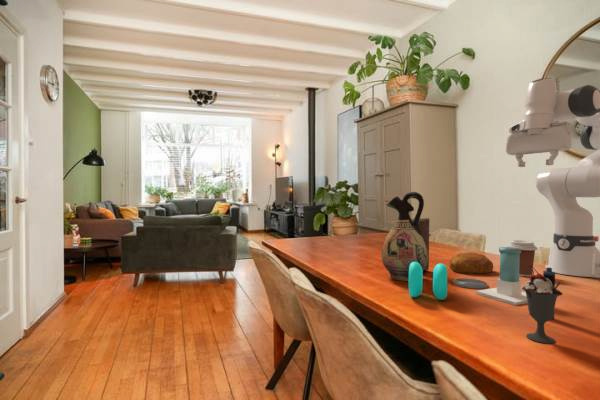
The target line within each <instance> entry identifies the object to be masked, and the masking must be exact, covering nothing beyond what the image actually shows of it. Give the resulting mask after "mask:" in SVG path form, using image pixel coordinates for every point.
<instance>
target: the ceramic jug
mask: <svg viewBox="0 0 600 400" xmlns="http://www.w3.org/2000/svg"><path fill="white" fill-rule="evenodd" d="M409 199H415V200H417V201H418V207H417V210H416V214H415V216H414V218H413V219H414V221H412V220H411V219H412V217H411V216H410V213H411V212H414V210H415V208H414V206H413V205H412V203H410V202H409ZM424 206H425V200H424V198H423V196H422V194H420V193H419V192H416V191H411V192H408V193H406V194H405V195H404V196H403V198H402V199H400V197H399V196H394V197H393V198H392V199H391V200H390V201H389V202H387V204H386V207H388V208H391V209H394V210H396V211H397V212H398V216H397V217H398V219H397V220H396V222H395V223H394V224H393V226H392V227H391V228H390V230H389V231H388V234H387V235H386V237H385V239H384V242H383V244H382V249H381V262H382V264H383V266H384V268H385V269H386V270H387V272H388V273H389V275H390V276H389V277H390V278H391V279H393V280H395V281H396V280H397V281H401V282H402V281H404V282H409V266H410V264H411V263H412V262H418V263H419V264H420V265H421V267H422V270H424V269H425V267H426V265H427V261H428V253H427V248H426V244H425V242H424V240H423V238H422V236H421V232H420V228H419V225H418V221H419V219H420V218H421V216H422V213H423V210H424ZM424 271H425V270H424Z"/></svg>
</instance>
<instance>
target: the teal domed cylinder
mask: <svg viewBox="0 0 600 400" xmlns="http://www.w3.org/2000/svg"><path fill="white" fill-rule="evenodd" d="M498 252H499V279H500V280H502V281H507V282H519V280H520V276H519V258H520V253H521V249H518V248H511V247H508V246H507V247H506V246H505V247H504V246H502V247H498Z"/></svg>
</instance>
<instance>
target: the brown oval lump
mask: <svg viewBox="0 0 600 400" xmlns="http://www.w3.org/2000/svg"><path fill="white" fill-rule="evenodd" d="M448 267H449V268H450V269H451V270H452V271H454V272H456V273H459V274H487V273H491V272H492V271H493V270H494V262H493V261H492V260H490V259H489V258H488V257H487V256H486V255H484V254H481V253H477V252H468V251H467V252H462V253H456V255H454V256H453V257H452V258H451V259H450V261H449V266H448Z"/></svg>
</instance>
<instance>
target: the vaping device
mask: <svg viewBox="0 0 600 400" xmlns="http://www.w3.org/2000/svg"><path fill="white" fill-rule="evenodd" d="M542 276H543V277H546V278H548V279H549V280H550V281H551V282H552V285H553V288H555V287H556V273H555V272H552V268H546V270H543V273H542ZM554 318H555V313H554V314H553V317H552V319H551V320H554Z"/></svg>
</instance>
